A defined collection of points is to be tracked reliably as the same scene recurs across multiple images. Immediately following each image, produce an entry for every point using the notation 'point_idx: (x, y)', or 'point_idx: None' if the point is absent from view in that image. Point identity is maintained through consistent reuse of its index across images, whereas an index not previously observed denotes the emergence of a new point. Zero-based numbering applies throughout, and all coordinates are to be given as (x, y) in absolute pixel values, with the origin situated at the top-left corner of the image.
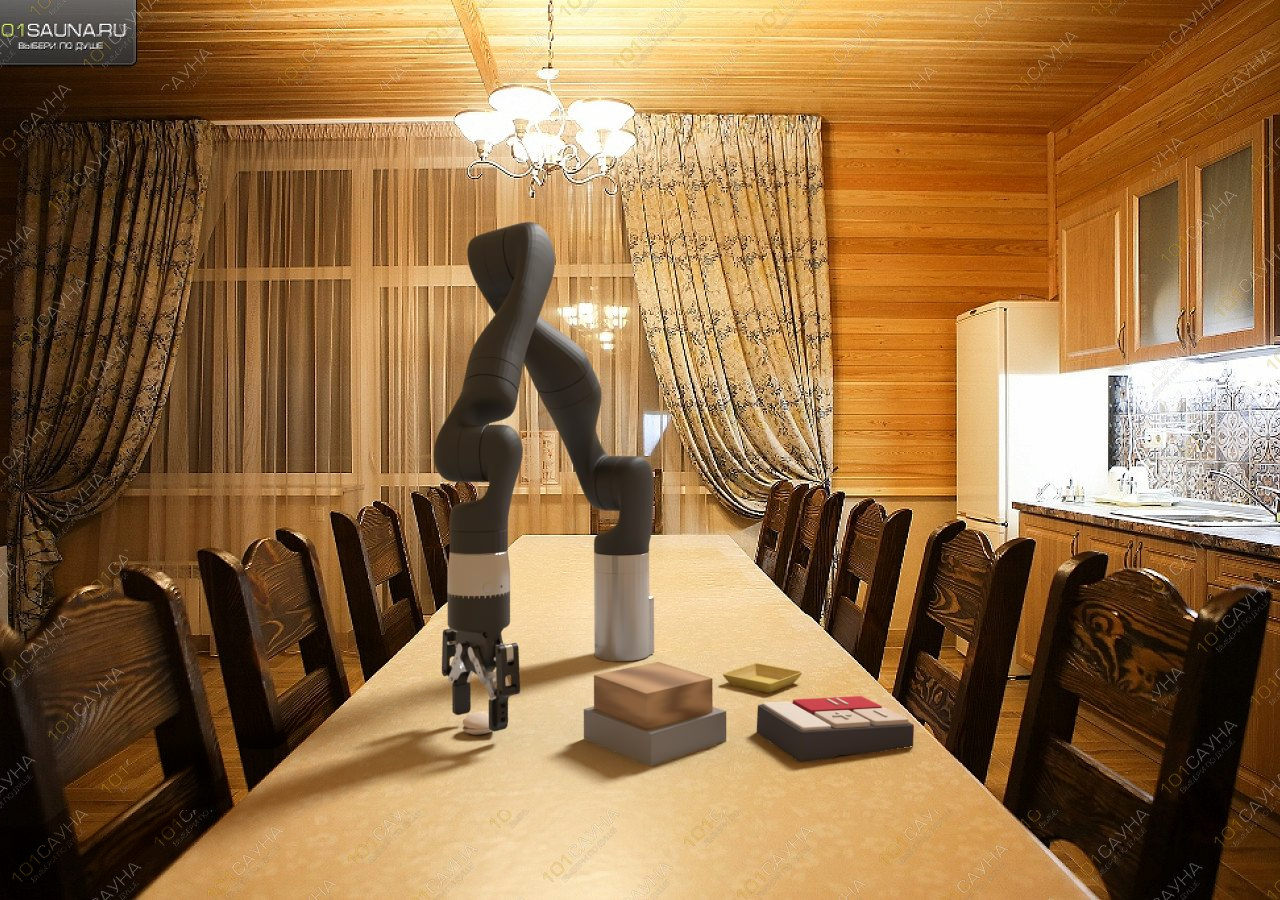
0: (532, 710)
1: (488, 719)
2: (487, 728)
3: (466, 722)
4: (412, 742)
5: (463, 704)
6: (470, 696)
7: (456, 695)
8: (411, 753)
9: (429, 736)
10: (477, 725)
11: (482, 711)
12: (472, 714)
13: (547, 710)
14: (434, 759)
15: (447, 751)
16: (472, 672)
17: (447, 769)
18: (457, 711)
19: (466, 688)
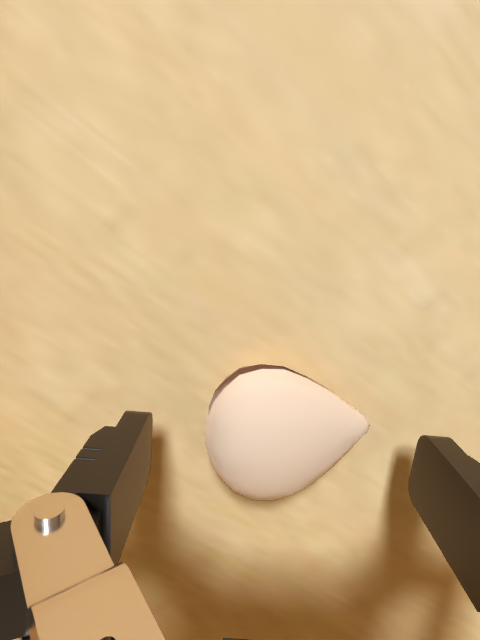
0: (194, 77)
1: (326, 443)
2: (346, 451)
3: (269, 499)
4: (187, 590)
5: (141, 461)
6: (135, 447)
7: (127, 531)
8: (267, 630)
9: (175, 536)
10: (316, 479)
11: (245, 423)
12: (251, 475)
13: (249, 18)
14: (357, 617)
15: (334, 568)
16: (110, 558)
17: (447, 631)
18: (147, 472)
19: (117, 498)
